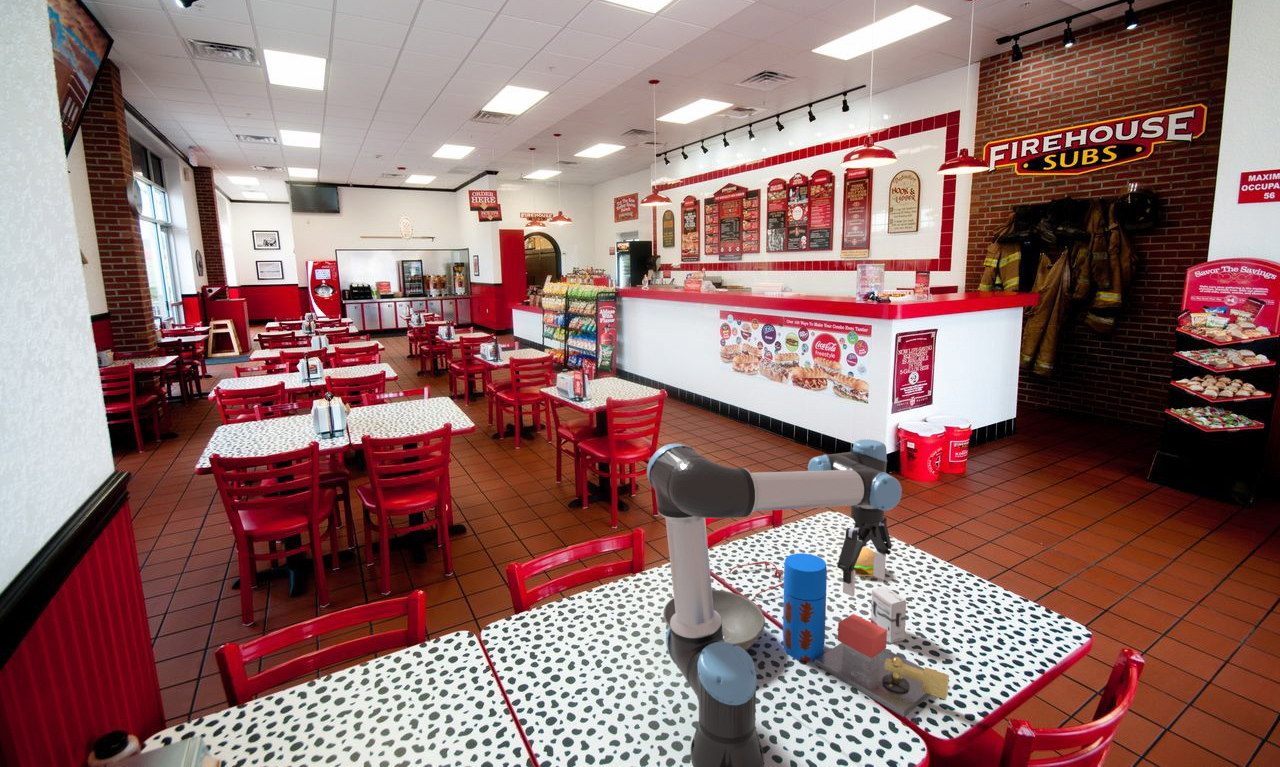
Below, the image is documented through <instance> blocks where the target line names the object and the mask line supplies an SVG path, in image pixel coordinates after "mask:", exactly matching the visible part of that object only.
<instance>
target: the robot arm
mask: <svg viewBox="0 0 1280 767" xmlns="http://www.w3.org/2000/svg"><path fill="white" fill-rule="evenodd" d="M852 445H853V446H852V450H851V451H848V452H841V453H840V452H839V453H831V454H822V455H818V456H814V457H812V458H811V459H810V460H809V461H808V465H807V470H798V471H796V470H795V471H792V470H791V471H762V472H758V471H757V472H750V470H749V469H747V468H746V467H728V466H725V465H722V464H719V463H717V462H714V461H712V460H710V459H709V458H707V457H705V456H704V455H702V454H700V453H698V452H697V451H696V450H695V449H694V448H692V447H691V446H687V445H684V444H682V443H669V444H665V445H664V446H662V447H659V449H658V450H656V451H655V452H654V453H653V455H652V456H651V457H650V459H649V461H648V463H647V468H646V475H647V479H648V482H649V484H650V486H651V487H652V488H653V489H654V491H655V499H656V509H657V513H658V514H659V515H660V516H661V517H662V518H664V519H665V525H666V527H665V528H666V535H667V544H668V545H667V546H668V553H669V563H670V564H669V565H670V574H671V583H672V591H673V598H674V602H675V611H676V613H675V614H674V615H673V616H672V618H671V620H670V627H668V628H667V629H666V630H667V631H666V636H665V645H666V648H667V651H668V654H669V656H670V658H671V660H672V662H673V663H674V664H675V665H676V666H677V668H678V669H679V672H681V674H682V675H683V677H684V679H685V681H686V682H687V683H688V685H689V687H691V690H692V691H693V692H694V694H695V696H696V697H697V700H698V724H697V727H696V730H695V732H694V735H693V738H692V741H691V744H690V761H691V765H692V767H764V757H765V756H764V750H763V746H762V744H761V741H760V738H759V735H758V731H757V729H756V710H757V709H756V703H757V702H756V701H757V700H756V699H757V697H756V696H757V685H758V682H757V680H758V679H757V672H756V665H755V662H754V660H753V658H752V657H751V655H750V653H749V652H747V650H744V649H743V648H741V647H739V646H733V644H732V643H728V642H725V641H724V634H723V631H722V620H721V616H720V615H719V613H718V612H716V611H715V610H714V608H713V597H712V590H713V588H712V578H711V567H710V555H709V546H708V545H709V544H708V534H707V525H706V524H707V523H706V519H735V518H737V519H738V518H747V517H750V516H751V515H752V514H753V512H760V511H761V512H763V511H764V512H765V511H780V510H783V511H784V510H796V509H797V510H799V509H801V510H802V509H815V508H817V509H818V508H834V507H837V508H838V507H848V506H849V507H850V517H851V518H852V520H853V521H854V526H853V528H850V527H847V528H846V529H845V536H844V541H843V544H842V548H841V551H840V555H839V558H838V561H837V566H836V567H837V568H838V569H840V570H842V571H843V572H842V593H843V594H845V595H848V596H850V597H855V593H856V589H855V588H856V575H855V570H853V569H854V566H855V564H856V562H857V559H858V557H859V555H860V552H861V550H862V548H863V547H866V545H867V543H868V542H869V541H871V542H872V545H873V546H874V548H875V551H873V552H874V571H873V576H872V577H875V578H877V579H880V580H885V577H886V559H887V558H886V555H887V556H889V555H891V550H892V548H893V546H892V542H891V538H890V533H889V530H888V526H887V523H888V522H887V517H885V512H888V511H891V510H892V509H894V508H896V507H897V505H898V504H899V503H900V501H901V500H902V499H901V498H902V494H903V493H902V492H903V489H902V486H901V483H900V480H898V479H897V478H896V477H894V476H892V475H890V474H888V473H887V464H888V458H887V456H888V454H887V446H886V444H884V443H883V442H881V441H878V440H875V439H859V440H856V441H854V443H853V444H852Z"/></svg>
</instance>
